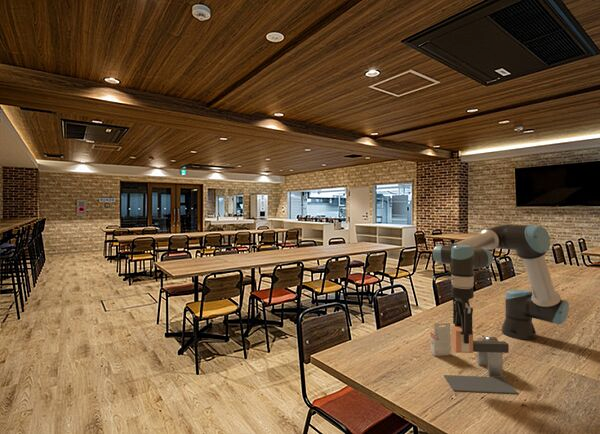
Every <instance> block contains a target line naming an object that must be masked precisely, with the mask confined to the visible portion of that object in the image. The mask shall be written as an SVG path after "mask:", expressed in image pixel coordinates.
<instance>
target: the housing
mask: <svg viewBox="0 0 600 434" xmlns="http://www.w3.org/2000/svg"><path fill="white" fill-rule="evenodd" d="M476 341H499V340H498V338H497V337H495V336H483V337H482V338H480V337H478V338H477V339H476ZM476 353H477V354H476V356H477V357H476V359H477V360H476V364H477V366H485V367H486V366H487V373H486V374H487V377H503V374H504V372H503V371H504V369H503V368H504V367H503V364H504V362H503V360H504V359H503V358H504V355H503V354H504V353H496V352H476ZM503 378H504V377H503Z"/></svg>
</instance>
